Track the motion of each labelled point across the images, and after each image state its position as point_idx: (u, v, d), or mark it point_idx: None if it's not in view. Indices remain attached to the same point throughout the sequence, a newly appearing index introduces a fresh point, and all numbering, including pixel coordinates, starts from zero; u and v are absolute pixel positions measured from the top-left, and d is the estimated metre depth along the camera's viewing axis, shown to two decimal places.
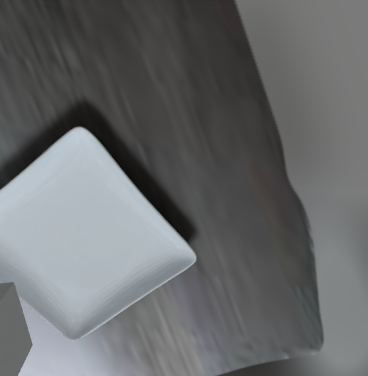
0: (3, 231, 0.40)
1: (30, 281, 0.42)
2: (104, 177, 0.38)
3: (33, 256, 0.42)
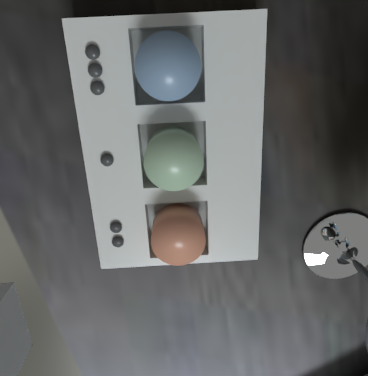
0: None
1: None
2: None
3: None
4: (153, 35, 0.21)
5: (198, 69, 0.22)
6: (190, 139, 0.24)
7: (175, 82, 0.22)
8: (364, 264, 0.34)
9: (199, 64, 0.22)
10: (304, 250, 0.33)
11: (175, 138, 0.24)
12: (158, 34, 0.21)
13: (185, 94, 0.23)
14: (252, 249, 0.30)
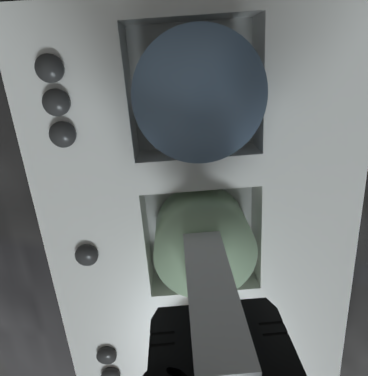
0: None
1: None
2: None
3: None
4: (169, 32, 0.10)
5: (262, 100, 0.11)
6: (235, 218, 0.13)
7: (214, 126, 0.11)
8: None
9: (264, 90, 0.11)
10: None
11: (209, 217, 0.13)
12: (180, 30, 0.10)
13: (234, 149, 0.11)
14: None
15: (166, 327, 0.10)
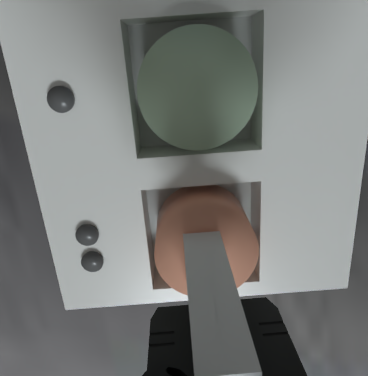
0: None
1: None
2: None
3: None
4: None
5: None
6: (232, 38, 0.11)
7: None
8: None
9: None
10: None
11: (201, 36, 0.11)
12: None
13: None
14: (339, 270, 0.16)
15: (166, 327, 0.10)
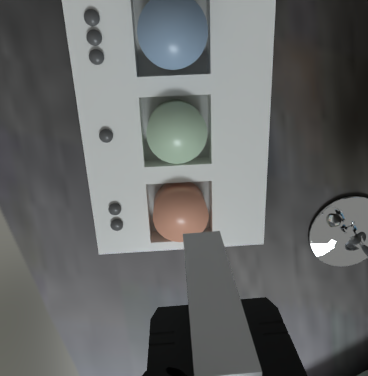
0: None
1: None
2: None
3: None
4: None
5: (205, 35, 0.21)
6: (194, 109, 0.23)
7: (180, 48, 0.21)
8: None
9: (206, 29, 0.21)
10: (310, 236, 0.32)
11: (179, 108, 0.23)
12: None
13: (190, 62, 0.21)
14: (258, 233, 0.28)
15: (166, 327, 0.10)
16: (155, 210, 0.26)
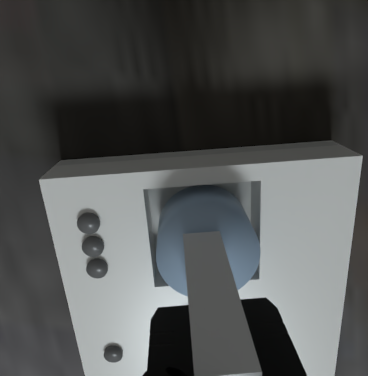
0: None
1: None
2: None
3: None
4: (186, 216, 0.13)
5: (255, 258, 0.14)
6: None
7: None
8: None
9: (257, 251, 0.14)
10: None
11: None
12: (194, 215, 0.13)
13: None
14: None
15: (166, 327, 0.10)
16: None
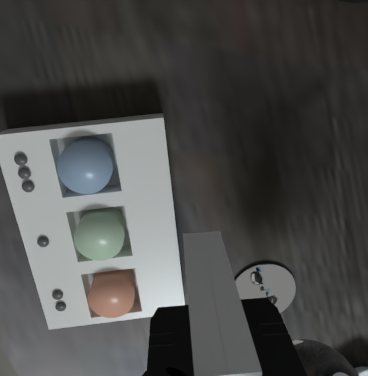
0: None
1: None
2: None
3: None
4: (69, 147, 0.27)
5: (109, 169, 0.28)
6: (110, 220, 0.29)
7: (91, 179, 0.28)
8: (286, 305, 0.38)
9: (109, 165, 0.28)
10: None
11: (97, 220, 0.29)
12: (73, 146, 0.27)
13: (101, 188, 0.28)
14: (179, 304, 0.34)
15: (166, 327, 0.10)
16: (89, 295, 0.32)
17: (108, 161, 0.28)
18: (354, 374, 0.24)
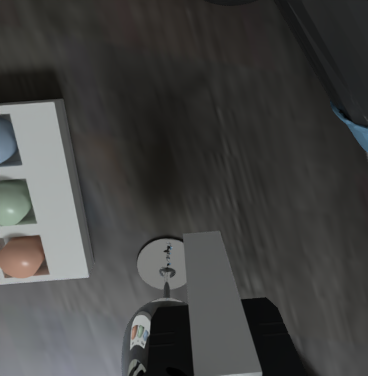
0: None
1: None
2: None
3: None
4: None
5: (6, 145, 0.32)
6: (11, 190, 0.34)
7: None
8: None
9: (6, 141, 0.32)
10: (137, 268, 0.42)
11: (0, 190, 0.34)
12: None
13: (1, 161, 0.33)
14: (83, 269, 0.39)
15: (166, 327, 0.10)
16: None
17: (5, 138, 0.32)
18: None
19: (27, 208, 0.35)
